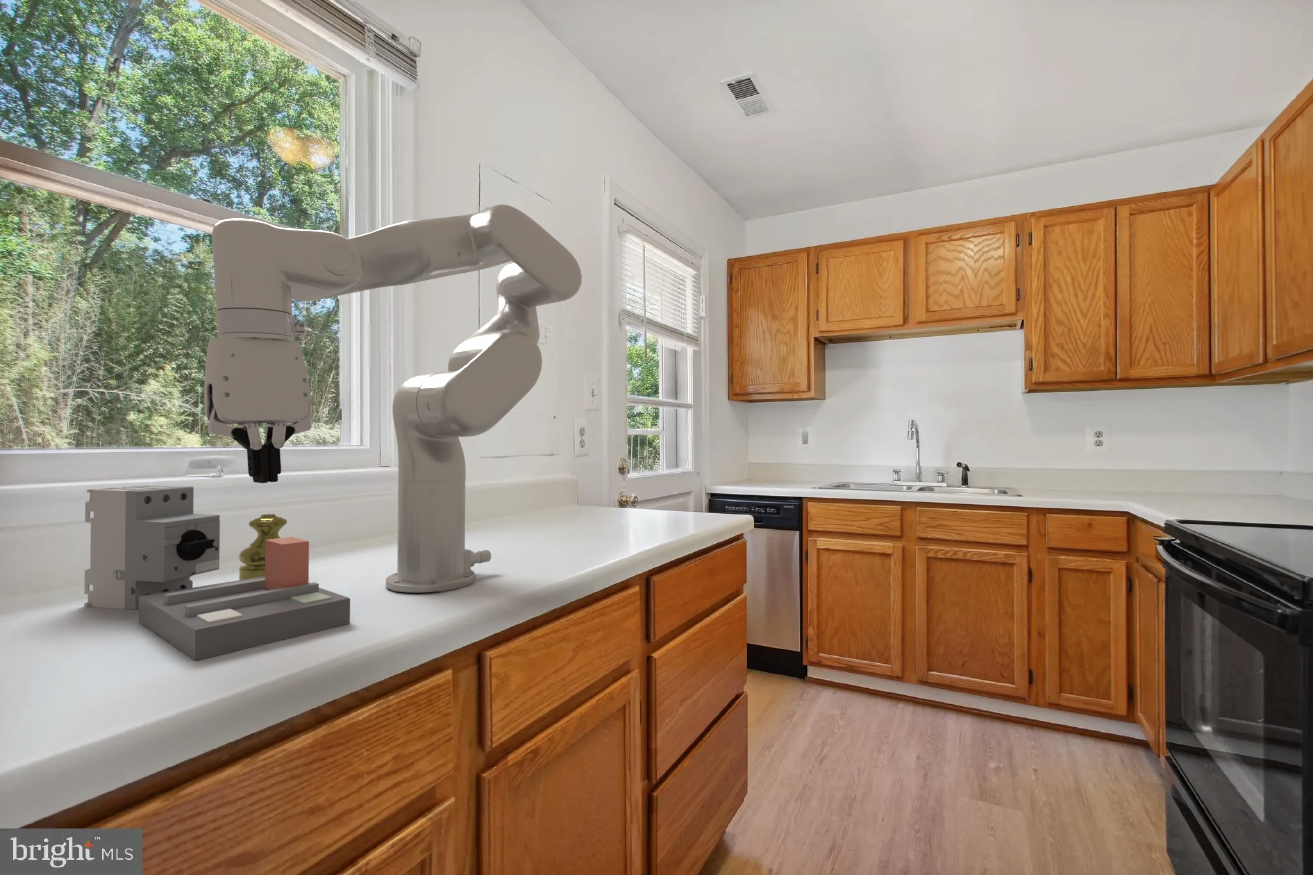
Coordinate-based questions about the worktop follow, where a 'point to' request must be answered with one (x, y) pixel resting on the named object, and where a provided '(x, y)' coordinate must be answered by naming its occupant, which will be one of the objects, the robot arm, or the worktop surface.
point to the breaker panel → (240, 615)
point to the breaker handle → (286, 562)
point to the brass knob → (259, 545)
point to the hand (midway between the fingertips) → (265, 481)
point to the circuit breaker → (146, 543)
